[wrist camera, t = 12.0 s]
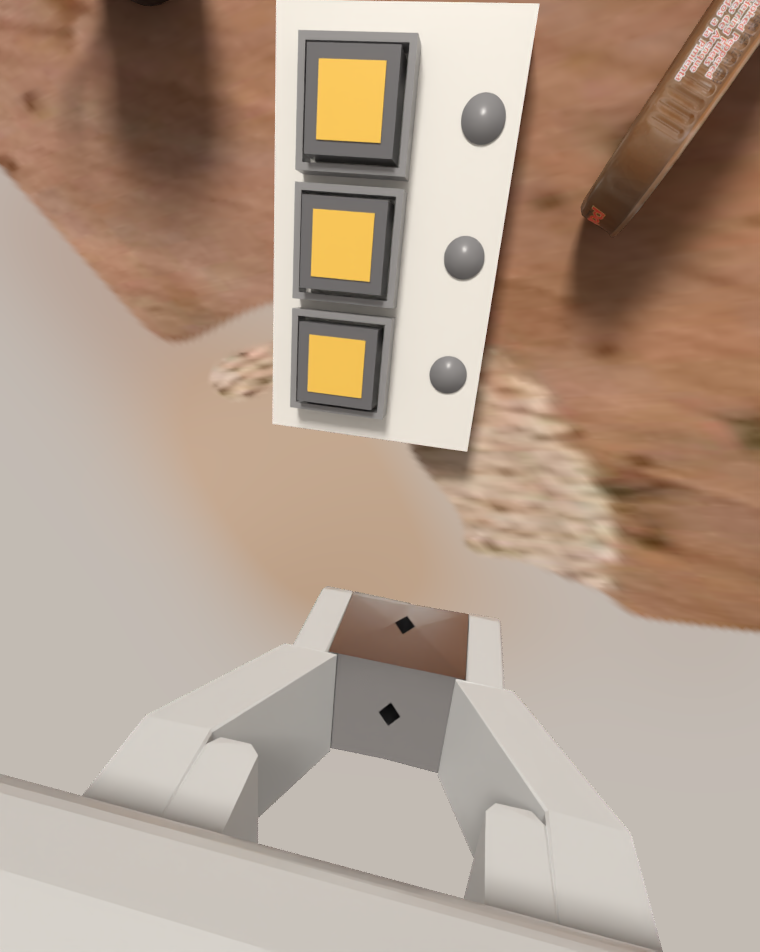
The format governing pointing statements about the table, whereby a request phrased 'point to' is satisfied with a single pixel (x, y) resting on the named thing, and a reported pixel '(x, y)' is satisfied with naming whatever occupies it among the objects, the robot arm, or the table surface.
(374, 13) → the button panel
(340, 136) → the button
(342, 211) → the button middle
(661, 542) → the table surface
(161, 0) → the coffee mug
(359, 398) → the button
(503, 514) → the table surface
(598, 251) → the table surface
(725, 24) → the tin
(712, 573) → the table surface
